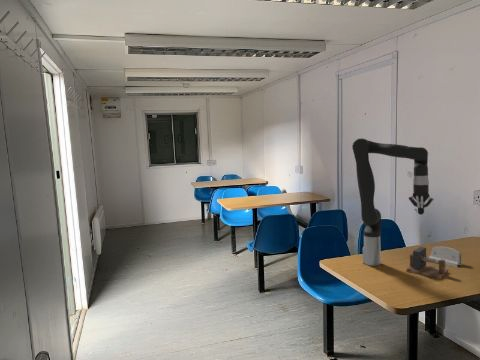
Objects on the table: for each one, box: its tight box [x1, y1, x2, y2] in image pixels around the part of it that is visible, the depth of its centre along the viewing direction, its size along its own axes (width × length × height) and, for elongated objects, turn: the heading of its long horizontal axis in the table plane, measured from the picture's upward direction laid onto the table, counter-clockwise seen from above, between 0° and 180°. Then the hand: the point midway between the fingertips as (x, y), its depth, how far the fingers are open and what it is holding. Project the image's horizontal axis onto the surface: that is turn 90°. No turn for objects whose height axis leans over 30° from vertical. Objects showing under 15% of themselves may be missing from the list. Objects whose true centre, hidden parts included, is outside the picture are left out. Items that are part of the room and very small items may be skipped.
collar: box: [412, 246, 427, 270], centre depth 190 cm, size 3×10×10 cm, turn 131°
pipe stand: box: [406, 253, 449, 280], centre depth 187 cm, size 17×12×8 cm
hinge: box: [428, 245, 462, 268], centre depth 200 cm, size 17×5×10 cm, turn 33°
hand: (421, 214), depth 191 cm, fingers closed
